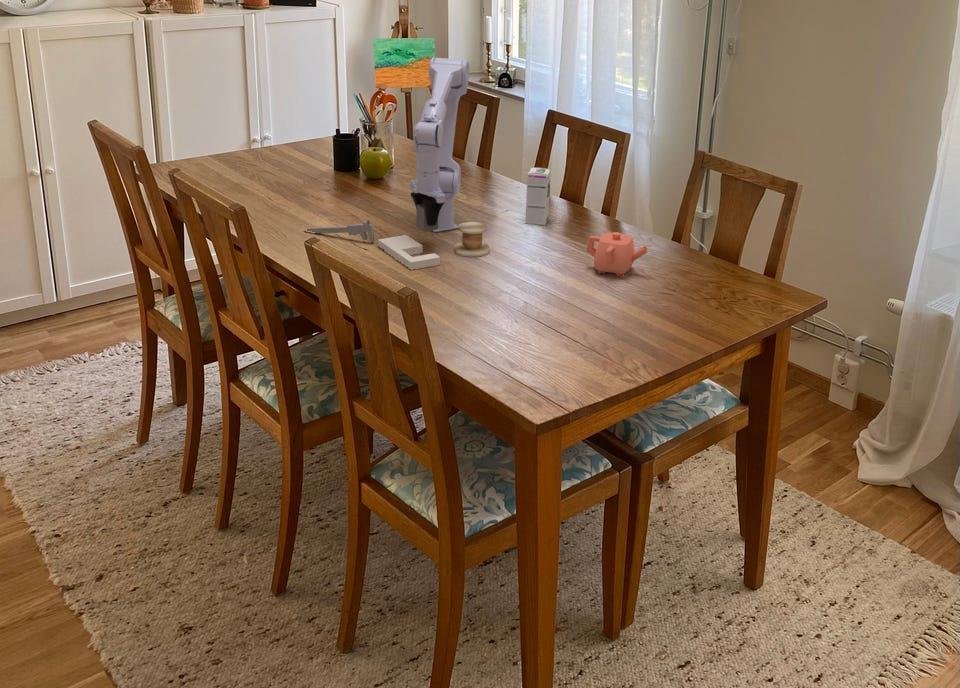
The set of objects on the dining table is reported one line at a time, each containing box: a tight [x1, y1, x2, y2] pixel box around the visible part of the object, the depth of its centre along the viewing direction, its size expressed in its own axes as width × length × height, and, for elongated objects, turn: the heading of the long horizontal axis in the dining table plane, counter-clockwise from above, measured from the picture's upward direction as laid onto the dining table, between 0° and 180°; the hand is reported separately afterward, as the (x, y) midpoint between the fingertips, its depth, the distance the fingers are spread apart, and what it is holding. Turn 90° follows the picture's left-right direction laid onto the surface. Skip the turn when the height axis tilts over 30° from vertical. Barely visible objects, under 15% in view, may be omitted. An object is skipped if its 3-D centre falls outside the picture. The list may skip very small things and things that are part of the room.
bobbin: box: [453, 221, 491, 258], centre depth 254 cm, size 9×9×6 cm
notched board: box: [377, 234, 441, 271], centre depth 250 cm, size 18×8×2 cm, turn 31°
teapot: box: [586, 231, 649, 277], centre depth 244 cm, size 12×12×10 cm
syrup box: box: [525, 167, 552, 226], centre depth 275 cm, size 6×6×14 cm
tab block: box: [416, 204, 438, 232], centre depth 255 cm, size 4×4×6 cm
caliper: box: [306, 219, 375, 243], centre depth 260 cm, size 20×1×6 cm, turn 69°
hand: (427, 222), depth 256 cm, fingers closed on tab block, 4 cm apart
